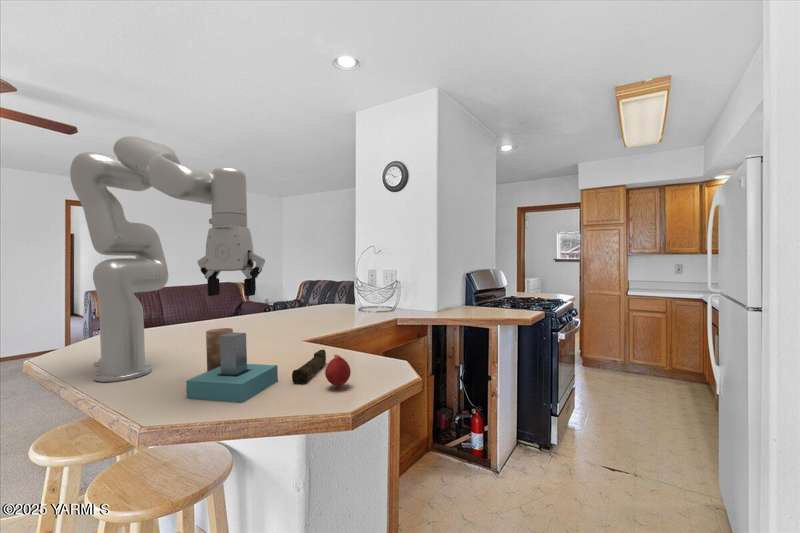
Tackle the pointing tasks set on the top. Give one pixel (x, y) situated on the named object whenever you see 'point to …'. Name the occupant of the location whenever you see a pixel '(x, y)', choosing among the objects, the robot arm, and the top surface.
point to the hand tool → (309, 368)
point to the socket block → (232, 384)
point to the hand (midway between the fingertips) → (231, 295)
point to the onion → (337, 371)
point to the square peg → (233, 354)
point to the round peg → (214, 347)
